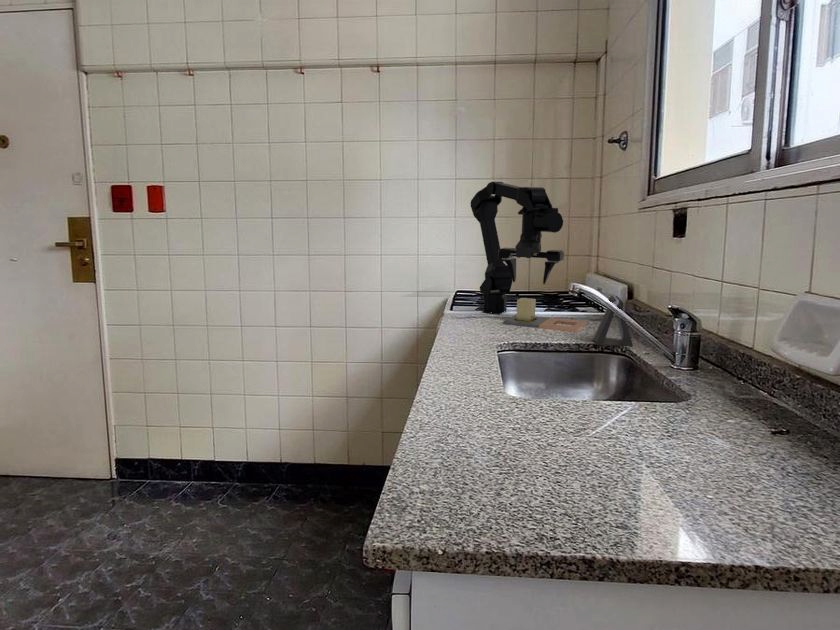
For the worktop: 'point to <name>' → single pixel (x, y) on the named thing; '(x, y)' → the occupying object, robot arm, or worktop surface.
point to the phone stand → (605, 326)
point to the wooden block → (526, 309)
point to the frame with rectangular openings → (548, 323)
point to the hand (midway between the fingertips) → (529, 283)
